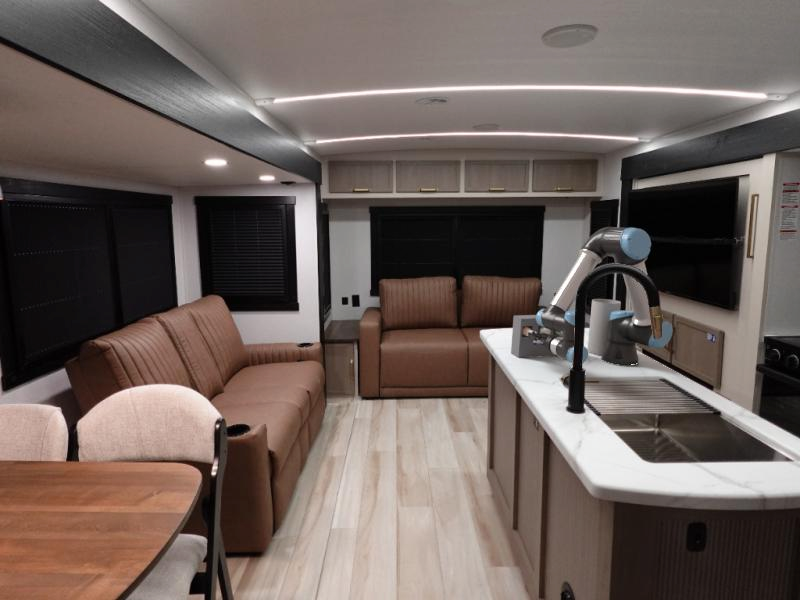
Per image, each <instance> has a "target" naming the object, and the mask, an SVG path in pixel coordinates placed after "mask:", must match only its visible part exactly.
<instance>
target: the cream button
mask: <svg viewBox="0 0 800 600" xmlns="http://www.w3.org/2000/svg"><path fill="white" fill-rule="evenodd" d="M538 333H541V334H542V333H546V334H549V335H550V329H546V328H544V327H540V328H539V329H538Z"/></svg>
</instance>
